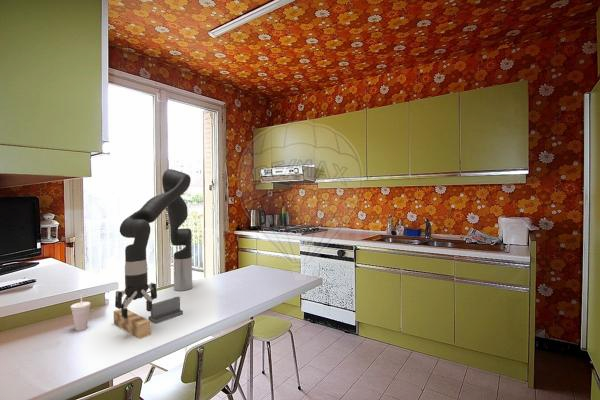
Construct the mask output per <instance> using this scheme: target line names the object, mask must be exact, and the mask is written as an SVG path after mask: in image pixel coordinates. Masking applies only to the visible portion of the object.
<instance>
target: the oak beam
mask: <svg viewBox="0 0 600 400" xmlns="http://www.w3.org/2000/svg"><path fill="white" fill-rule="evenodd" d="M127 312H128V318H127V319H124V318H123V317H122V316H121V309H116V310H113V324H114V325H116V326H117V327H119V328H120V329H122V330H124V331H126V332H127V333H128V334H131V335H133V336H134V337H136V338H138V339H139V340H141V339H143V338H146V337H149V336H151V334H152V330H151V327H152V326H151V325H152V324H151V321H150V320H149V319H147V318H145V317H143V316H142V315H140V314H138V313H135V312H133V311H131V310H129V309H127Z"/></svg>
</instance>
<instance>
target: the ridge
mask: <svg viewBox="0 0 600 400" xmlns="http://www.w3.org/2000/svg"><path fill="white" fill-rule="evenodd" d="M183 314H184V313H183V310H182V309H181V297H180V296H175V297H172V298H168V299H164V300H161V301H158V302H155V303H152V309H151V311H150V315H149V316H148V317H147V318H148V320H150V323H154V324H155V325H156V324H159V323H162V322H165V321H168V320H170V319H173V318H174V319H175V318H176V317H179V316H182V315H183Z"/></svg>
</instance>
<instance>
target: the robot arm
mask: <svg viewBox="0 0 600 400" xmlns="http://www.w3.org/2000/svg"><path fill="white" fill-rule="evenodd" d="M161 179H162V180H161V182H162V184H161V185H162V189H163V191H164V192H163V193H160V194H158V195H156V196H153V197H150V199H148V200H147V201H146V202H145V203H144V205H142V206H141V208H140V209H139V210H137V211H135V212H134V213H132V214H131V215H129V216H128V217H126V218H125V219H124V220H122V222H121V223H120V226H119V233H120V235H121V236H122V237H124V238H127V239H128V238H130V239H133V240H134V241H133V243H131V244H129V245H126V247H125V249H124V250H125V251H124V255H125V260H124V262H125V263H124V290H121V291H119V290H116V291H115V302H114V303H115V304H114V307H115V308H116V309H117V310H119V309H121V316H122V317H123V318H124V319H127V318H128V312H127V310H128V306H129V305H130V304H131V302H132V301H136V300H138V299H143V298H144V299H145V300H146V301H145V303H146V304H145V305H146V310H145V311H147V312H151V309H152V304H153V300H155V299H157V298H158V294H157V293H158V291H157V283H154V282H150V284H148V281H149V280H148V270H149V269H148V262H147V246H148V243H149V240H150V236H151V225H150V224H151V223H154V222H155V221H156V220H157V219H158V217H159V216H160V215H161V214H162V213H163V211H165V210H166V208H167V216H168V222H169V232H170V233H169V234H170V237H169V238H170V243H171V245H172V246H176V247H178V246H185V247H184V248H181V250H178V251H175V252H174V253H173V288H174V291H177V292H181V291H183V292H184V291H189V290H191V289H192V288H193V262H192V261H193V260H192V259H193V258H192V255H193V254H192V236H193V234H192V229H191V228H188V227H187V228H180V227H181V226H182V225H183V224H184V223H185V222H186V220H187V219H188V215H189V214H188V211H189V210H188V205H187V203H186V201H185V199H184V198H183V197H182V196H183V194H184V193H186V191H188V189H189V187H190V184H191V176H190V175H189V174H188V173H185V172H182V171H178V170H176V169H172V168H171V169H170V168H169V169H166V170H165V171H164V172H163V174H162V178H161ZM148 290H150V294H148ZM124 295H125V297H124ZM123 297H124V298H123ZM122 300H123V301H122Z"/></svg>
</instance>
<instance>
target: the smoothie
mask: <svg viewBox="0 0 600 400" xmlns="http://www.w3.org/2000/svg"><path fill="white" fill-rule="evenodd" d="M90 307H91V302H90V301H83V293H80V301H79V302H77V303H76V302H75V303H73V304H72V305H71V304H70V310H71V313H72V319H73V323H74V328H75V331H76V332H81V331H84V330H86V329H88V323H89V316H90V315H89V314H90Z"/></svg>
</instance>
